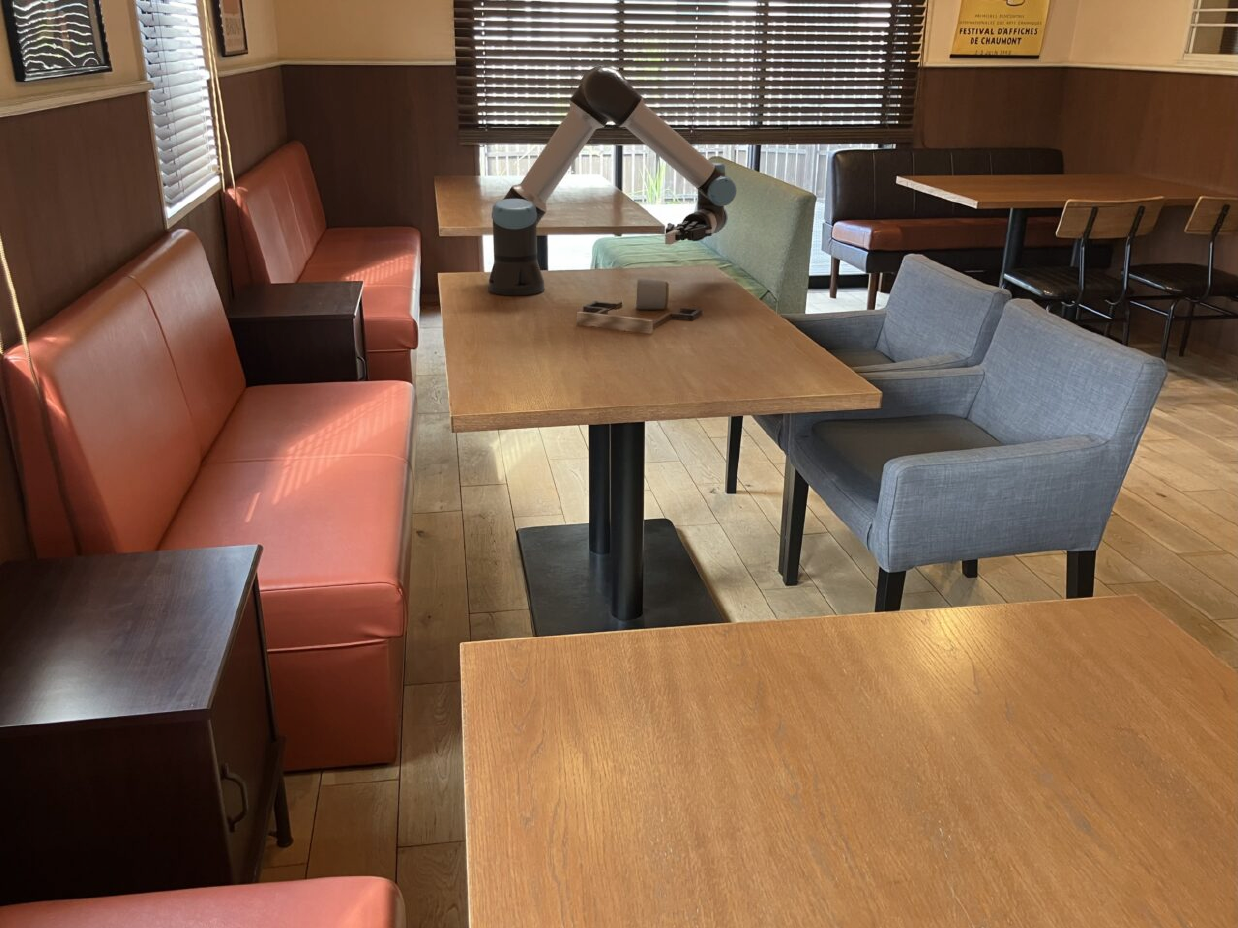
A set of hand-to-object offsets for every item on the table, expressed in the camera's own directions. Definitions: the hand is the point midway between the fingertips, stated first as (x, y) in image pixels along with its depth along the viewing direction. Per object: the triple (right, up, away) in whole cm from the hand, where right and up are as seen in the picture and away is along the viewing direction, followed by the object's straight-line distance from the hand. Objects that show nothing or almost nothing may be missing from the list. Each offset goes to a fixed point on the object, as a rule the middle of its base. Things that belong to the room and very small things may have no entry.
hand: (667, 239), depth 264 cm
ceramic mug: (-5, -18, -1) cm, 19 cm away
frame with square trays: (-9, -22, -12) cm, 27 cm away
